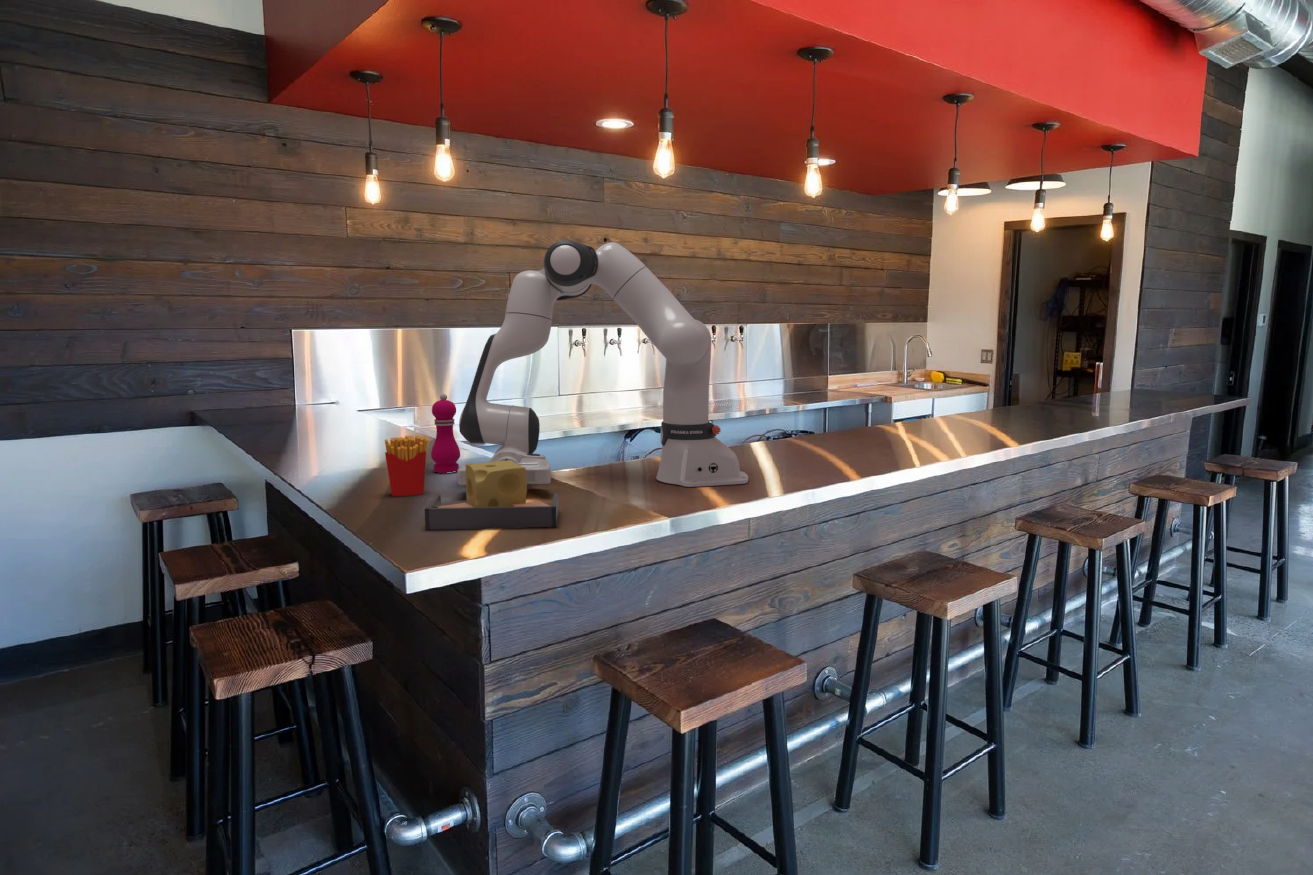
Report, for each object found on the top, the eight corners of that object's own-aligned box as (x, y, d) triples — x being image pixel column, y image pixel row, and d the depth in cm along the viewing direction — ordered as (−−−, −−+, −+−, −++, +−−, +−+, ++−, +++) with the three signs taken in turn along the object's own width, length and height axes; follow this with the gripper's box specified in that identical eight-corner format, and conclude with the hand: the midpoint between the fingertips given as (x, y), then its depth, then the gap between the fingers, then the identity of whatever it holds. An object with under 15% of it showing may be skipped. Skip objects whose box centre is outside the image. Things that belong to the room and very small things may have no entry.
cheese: (476, 521, 155) (474, 471, 154) (464, 509, 165) (463, 462, 164) (528, 516, 160) (527, 467, 158) (513, 504, 169) (512, 458, 168)
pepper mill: (453, 474, 200) (450, 395, 196) (426, 473, 201) (423, 394, 198) (465, 469, 206) (462, 392, 203) (439, 468, 208) (436, 392, 205)
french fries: (387, 497, 175) (384, 439, 173) (386, 493, 179) (383, 436, 177) (430, 494, 178) (428, 436, 176) (428, 490, 182) (426, 434, 180)
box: (558, 511, 163) (558, 492, 162) (556, 527, 151) (555, 506, 151) (437, 513, 161) (436, 494, 160) (425, 529, 149) (424, 509, 148)
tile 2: (539, 515, 162) (539, 500, 161) (552, 521, 157) (552, 506, 156) (512, 519, 158) (511, 504, 158) (524, 525, 153) (524, 510, 153)
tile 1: (478, 523, 155) (477, 508, 154) (448, 528, 151) (448, 513, 151) (466, 517, 160) (465, 502, 159) (437, 521, 156) (436, 506, 156)
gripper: (461, 455, 180) (451, 467, 167) (552, 454, 182) (549, 466, 169) (462, 482, 181) (452, 496, 168) (552, 481, 183) (549, 495, 170)
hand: (501, 481), depth 168 cm, fingers closed
